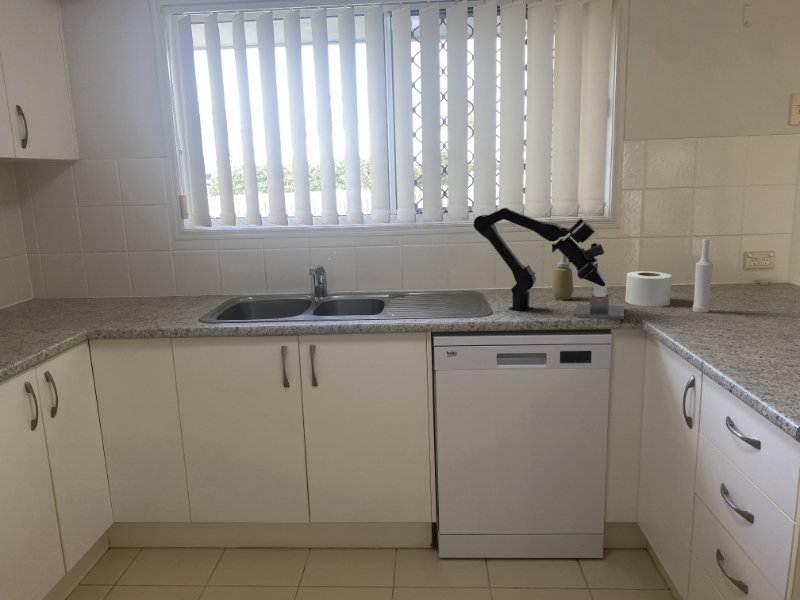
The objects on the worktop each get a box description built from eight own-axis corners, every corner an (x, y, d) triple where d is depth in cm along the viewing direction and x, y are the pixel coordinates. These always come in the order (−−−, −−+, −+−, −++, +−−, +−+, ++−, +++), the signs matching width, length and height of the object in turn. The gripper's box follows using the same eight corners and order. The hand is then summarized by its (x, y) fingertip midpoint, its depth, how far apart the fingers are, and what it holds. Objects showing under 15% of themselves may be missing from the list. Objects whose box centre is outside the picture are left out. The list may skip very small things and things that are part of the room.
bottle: (711, 313, 198) (717, 240, 193) (694, 312, 199) (700, 240, 194) (706, 309, 203) (712, 238, 198) (690, 309, 204) (695, 238, 199)
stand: (573, 316, 198) (574, 299, 197) (577, 307, 213) (577, 291, 212) (623, 319, 193) (624, 301, 192) (623, 309, 208) (624, 292, 206)
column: (593, 301, 201) (594, 271, 199) (593, 299, 205) (595, 269, 202) (605, 302, 199) (607, 271, 197) (606, 300, 203) (607, 269, 201)
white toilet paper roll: (679, 303, 214) (681, 274, 212) (649, 308, 208) (650, 279, 205) (645, 296, 228) (647, 269, 226) (616, 301, 221) (617, 273, 219)
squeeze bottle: (568, 301, 222) (569, 255, 219) (548, 299, 227) (549, 254, 223) (576, 298, 229) (577, 252, 225) (556, 296, 233) (557, 251, 230)
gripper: (589, 239, 190) (623, 273, 189) (591, 233, 207) (622, 264, 206) (563, 262, 195) (596, 295, 193) (568, 254, 212) (598, 285, 210)
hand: (604, 284), depth 200 cm, fingers closed on column, 4 cm apart
